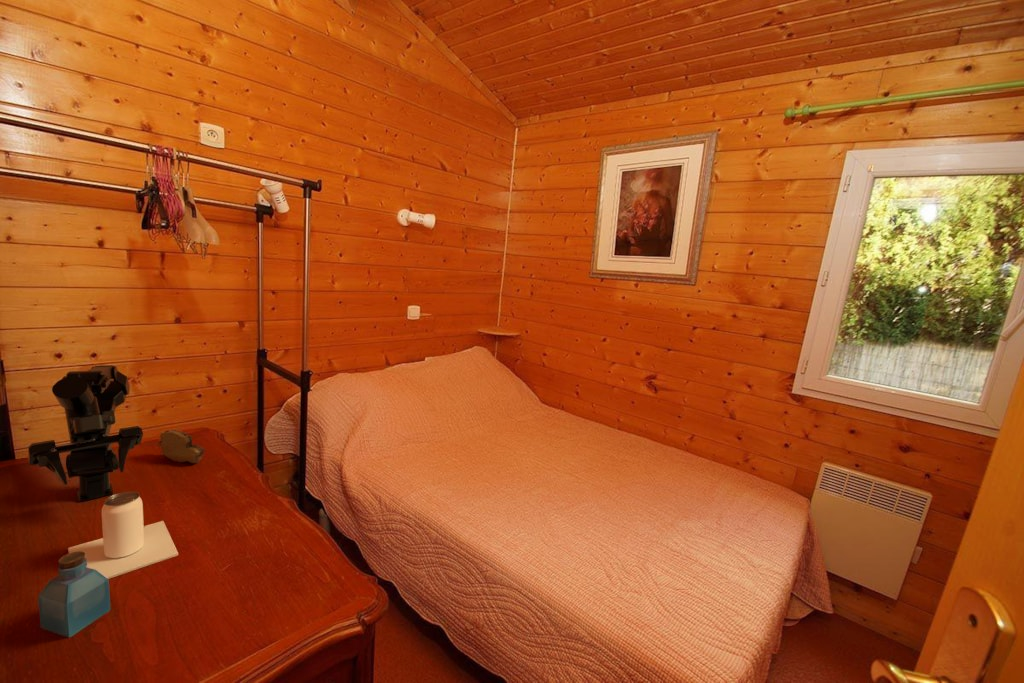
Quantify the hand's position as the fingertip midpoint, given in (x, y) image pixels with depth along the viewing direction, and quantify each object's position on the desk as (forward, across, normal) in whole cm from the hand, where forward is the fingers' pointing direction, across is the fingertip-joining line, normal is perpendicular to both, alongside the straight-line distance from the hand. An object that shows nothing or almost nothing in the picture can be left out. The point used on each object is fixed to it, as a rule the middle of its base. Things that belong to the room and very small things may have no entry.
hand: (95, 477), depth 98 cm
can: (+18, +2, -1) cm, 19 cm away
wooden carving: (-11, +23, +29) cm, 38 cm away
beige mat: (+19, +2, -1) cm, 19 cm away
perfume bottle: (+30, -7, -12) cm, 34 cm away
